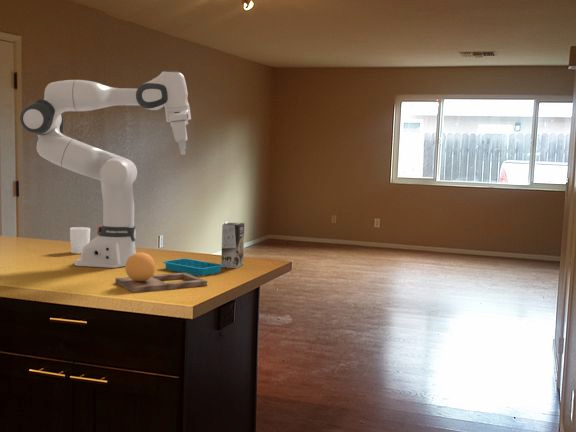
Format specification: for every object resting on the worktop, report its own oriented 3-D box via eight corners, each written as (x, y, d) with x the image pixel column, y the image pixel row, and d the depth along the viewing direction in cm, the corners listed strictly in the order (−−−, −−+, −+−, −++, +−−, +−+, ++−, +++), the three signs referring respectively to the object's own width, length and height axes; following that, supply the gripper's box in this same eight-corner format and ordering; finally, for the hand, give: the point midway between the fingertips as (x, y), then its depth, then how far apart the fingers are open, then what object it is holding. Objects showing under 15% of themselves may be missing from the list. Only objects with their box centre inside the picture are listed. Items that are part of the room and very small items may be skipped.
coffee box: (237, 268, 232) (238, 225, 230) (220, 267, 233) (221, 224, 232) (244, 264, 241) (245, 222, 239) (227, 263, 242) (228, 221, 241)
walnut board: (133, 292, 186) (134, 287, 186) (115, 282, 199) (115, 278, 199) (207, 285, 200) (207, 280, 199) (185, 276, 213) (185, 272, 213)
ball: (122, 284, 190) (122, 254, 190) (127, 278, 199) (128, 250, 199) (152, 284, 191) (153, 255, 190) (156, 278, 200) (157, 250, 199)
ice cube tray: (201, 277, 214) (201, 268, 214) (160, 269, 226) (161, 261, 226) (224, 273, 224) (225, 265, 223) (184, 266, 236) (184, 258, 235)
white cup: (72, 251, 260) (72, 226, 259) (92, 251, 261) (92, 227, 260) (67, 253, 253) (67, 229, 252) (87, 254, 253) (87, 229, 252)
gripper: (171, 117, 238) (176, 154, 240) (167, 116, 218) (173, 156, 220) (188, 115, 239) (193, 152, 241) (186, 114, 219) (191, 154, 221)
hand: (183, 154), depth 230 cm, fingers open, 8 cm apart
